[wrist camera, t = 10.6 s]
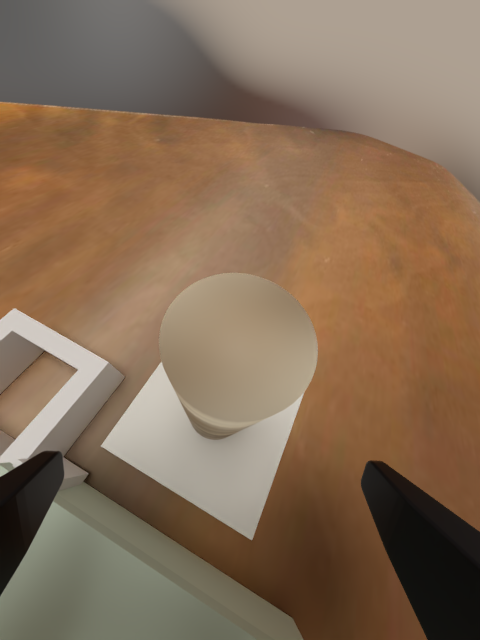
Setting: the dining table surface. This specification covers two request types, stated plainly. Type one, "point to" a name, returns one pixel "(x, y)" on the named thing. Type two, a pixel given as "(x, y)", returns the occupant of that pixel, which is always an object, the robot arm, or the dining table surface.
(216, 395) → the beige cylinder
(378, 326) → the dining table surface
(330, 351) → the dining table surface
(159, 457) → the mat
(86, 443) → the dining table surface
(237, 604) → the pale green box
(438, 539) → the robot arm
